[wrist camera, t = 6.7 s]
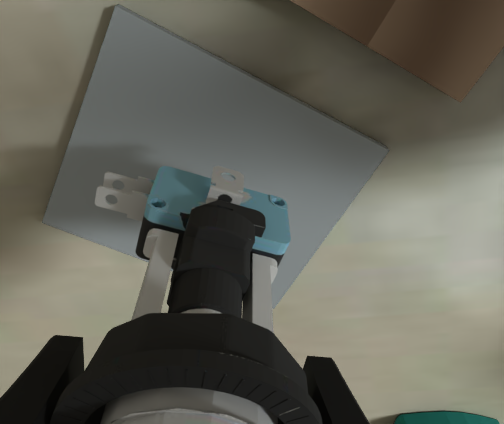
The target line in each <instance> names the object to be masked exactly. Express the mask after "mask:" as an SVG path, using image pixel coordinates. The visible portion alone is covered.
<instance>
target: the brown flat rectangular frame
mask: <svg viewBox="0 0 504 424" xmlns="http://www.w3.org/2000/svg"><path fill="white" fill-rule="evenodd" d="M290 1H292V2H293V3H295V4H297V5H299V6H300V7H302V8H304V9H305V10H307V11H309V12H310V13H312V14H314V15H315V16H317V17H319V18H320V19H322V20H324V21H325V22H327V23H329V24H330V25H332V26H334V27H335V28H337V29H339V30H340V31H342V32H344V33H345V34H347V35H349V36H350V37H352V38H354V39H355V40H357V41H359V42H360V43H362V44H364V45H365V46H367V47H369V48H370V49H372V50H374V51H375V52H377V53H379V54H380V55H382V56H384V57H385V58H387V59H389V60H390V61H392V62H394V63H395V64H397V65H399V66H400V67H402V68H404V69H405V70H407V71H409V72H410V73H412V74H414V75H415V76H417V77H419V78H420V79H422V80H424V81H425V82H427V83H429V84H430V85H432V86H434V87H435V88H437V89H439V90H440V91H442V92H444V93H445V94H447V95H449V96H450V97H452V98H454V99H455V100H457V101H459V102H460V103H461V101H462V100H463V99H464V98H465V96H466V95H467V94H468V92H469V91H470V90H471V88H472V87H473V86H474V85H475V83H476V82H477V81H478V79H479V78H480V77H481V75H482V74H483V73H484V72H485V70H486V69H487V68H488V66H489V65H490V64H491V63H492V61H493V60H494V59H495V57H496V56H497V55H498V53H499V52H500V51H501V50H502V48H503V47H504V0H290Z"/></svg>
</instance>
